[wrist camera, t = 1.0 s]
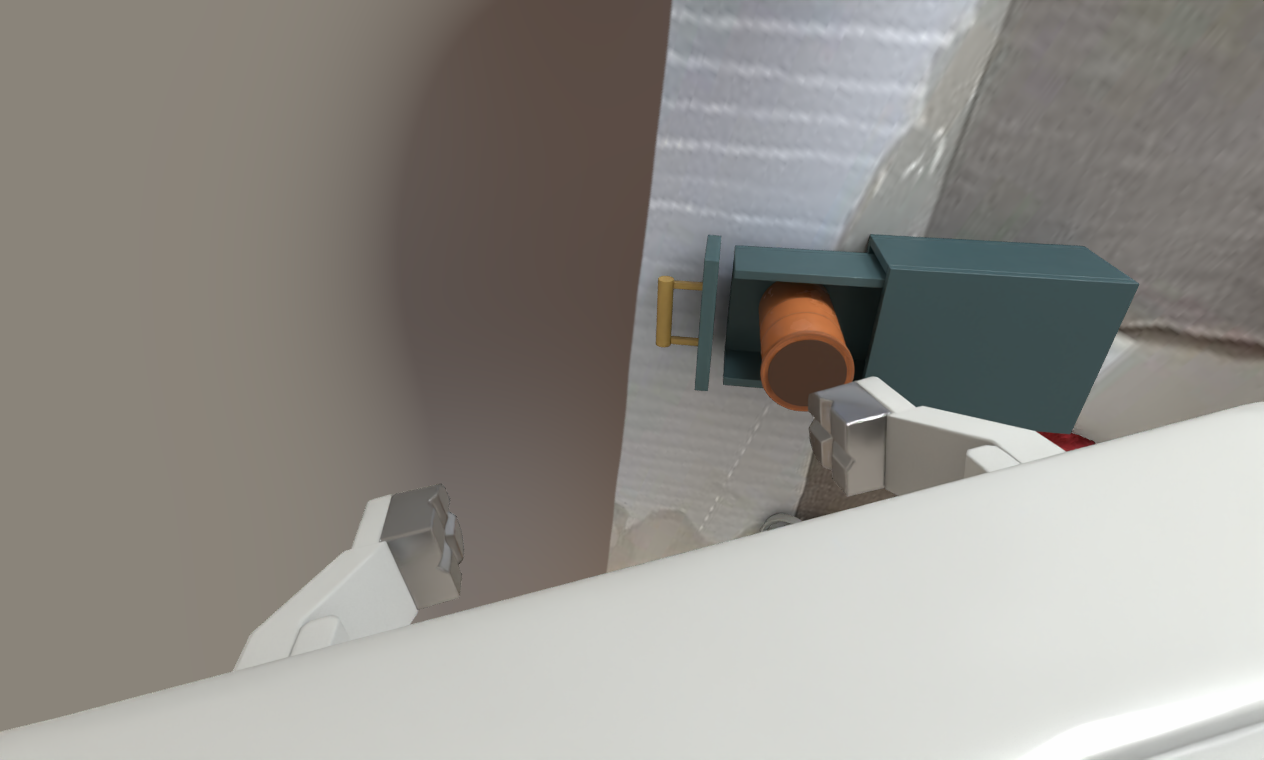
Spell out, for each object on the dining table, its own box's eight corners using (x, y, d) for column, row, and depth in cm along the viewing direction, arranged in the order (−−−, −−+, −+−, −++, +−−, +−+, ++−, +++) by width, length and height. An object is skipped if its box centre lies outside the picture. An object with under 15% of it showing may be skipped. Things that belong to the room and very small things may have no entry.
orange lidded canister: (761, 271, 56) (766, 329, 46) (840, 276, 55) (863, 337, 45) (752, 339, 59) (755, 408, 49) (826, 345, 59) (845, 416, 48)
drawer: (659, 352, 63) (651, 386, 57) (663, 232, 56) (655, 257, 51) (868, 368, 60) (882, 406, 55) (897, 245, 54) (916, 273, 48)
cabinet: (841, 367, 62) (855, 415, 54) (870, 234, 55) (890, 268, 47) (1029, 383, 60) (1070, 434, 52) (1084, 246, 53) (1140, 283, 45)
